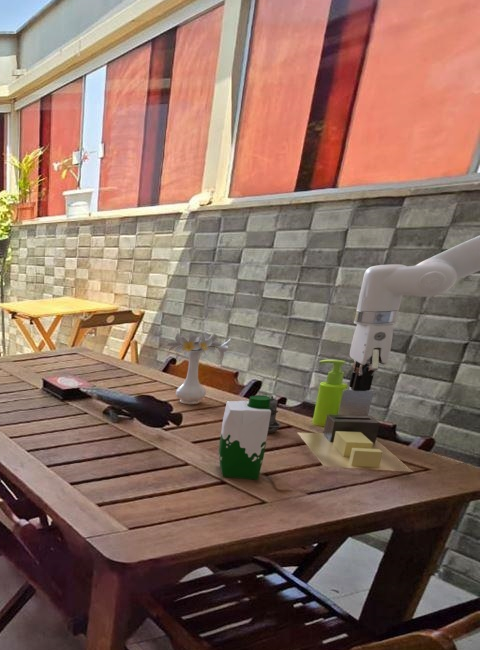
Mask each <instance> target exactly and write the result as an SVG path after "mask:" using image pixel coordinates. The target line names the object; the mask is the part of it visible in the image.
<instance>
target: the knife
mask: <svg viewBox="0 0 480 650" xmlns="http://www.w3.org/2000/svg"><path fill="white" fill-rule="evenodd" d="M359 368H360V367H356V370H355V374H354V379H353V383H352V387H350V388H351V389H347V390H343V393H342V398H341V402H340V407H339V411H338V415H348V416H369V413H370V409H371V405H372V401H373V397H374V392H375V390H374V389H370V390H368V391H365V390H354V389H353V386H354V382H355V378H356V375H358V372H359ZM364 368H365V367H364Z"/></svg>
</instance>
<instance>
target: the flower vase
mask: <svg viewBox="0 0 480 650" xmlns="http://www.w3.org/2000/svg"><path fill="white" fill-rule="evenodd" d="M185 336H186V332H184V333H183V334H182V335H181V334H180V333H179V332H178V333H177V334H176V335H175V338H174V341H170V342H169V343H167V346H168V347H170V348H169V349H168V351H173V350H174V352H176V353H180V352H181V353H182V352H183V354H184V355H183V356H184V357H185V358H188V366H187V373H186V378H185V379H184V381H183V382H182V384H181V385H179V386H178V387H177V388H176V390H175V396H176V397H177V398H178V400H179V403H181V404H184V405H198V404H199V403H200V402H201V400H203V399H204V398H205V397H206V396H207V392H206V389H205V388H204V386H203V385H201V382H200V380H199V364H200V358H201V355H202V353H205V354H204V355H206V356H209V353H211V354H215V353H216V349H218V352H219V354H220V357H221V361H223V360H224V354H225V353H226V352H227V351H228V349H229V346H228V345H229V343H230V342H231V340H232V338H231V337H230V338H229V339H228V340H227V341H225V342H224V343H220V342H218V341H216V340H217V338H218V336H217V334H215V333H213V334H211V335H210V336H209V334H208V333H207V332H206V331H204V332H203V334H201V335H200V336H198V337H197V336H196V333H195V332H194V331H190V332H189V333H188V338H185Z"/></svg>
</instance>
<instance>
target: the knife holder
mask: <svg viewBox="0 0 480 650" xmlns="http://www.w3.org/2000/svg"><path fill="white" fill-rule="evenodd" d="M380 425H381V422H380V421H378V420H377V419H376V418H374V417H373V416H372V415H368V416H348V415H329V414H327V418H326V423H325V427H324V429H323V433H322V434H323V435H324V436H325V437H326V438H327V439H328V440H329V441H330V442H334V437H335V432H336V431H344V432H361V433H362V434H363V435H365V436H366V437H367V438H368V439H369V440H370V441H371V442H372V443H373V444H375V442H376V440H377V437H378V434H379V433H378V432H379V429H380Z"/></svg>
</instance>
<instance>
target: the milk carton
mask: <svg viewBox="0 0 480 650" xmlns="http://www.w3.org/2000/svg"><path fill="white" fill-rule="evenodd" d="M270 398H271V396H267V395H261V394H257V395H256V394H255V395H251V396H249V399H248V400H227V401H226V404H225V409H224V413H223V417H222V424H221V431H220V438H219V446H218V458H219V467H220V471H221V475H222V477H223V478H232V479H233V478H234V479H245V480H255V481H257V480H259V476H260V473H261V468H262V465H263V461H264V458H265V451H266V446H267V445H266V444H267V439H268V434H269V433H268V427H269V421H270V415H271V409H270Z"/></svg>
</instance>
